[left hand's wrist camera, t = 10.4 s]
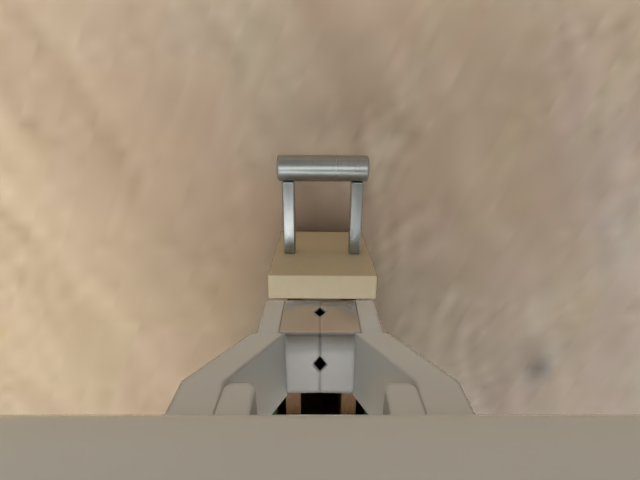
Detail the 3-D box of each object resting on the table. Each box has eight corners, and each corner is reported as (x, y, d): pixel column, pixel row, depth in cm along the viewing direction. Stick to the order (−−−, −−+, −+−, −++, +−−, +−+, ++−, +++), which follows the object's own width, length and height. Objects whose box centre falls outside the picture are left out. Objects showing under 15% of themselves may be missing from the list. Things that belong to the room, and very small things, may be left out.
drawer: (279, 148, 21) (262, 162, 15) (365, 149, 21) (384, 163, 15) (287, 440, 28) (278, 532, 22) (351, 441, 28) (360, 533, 22)
